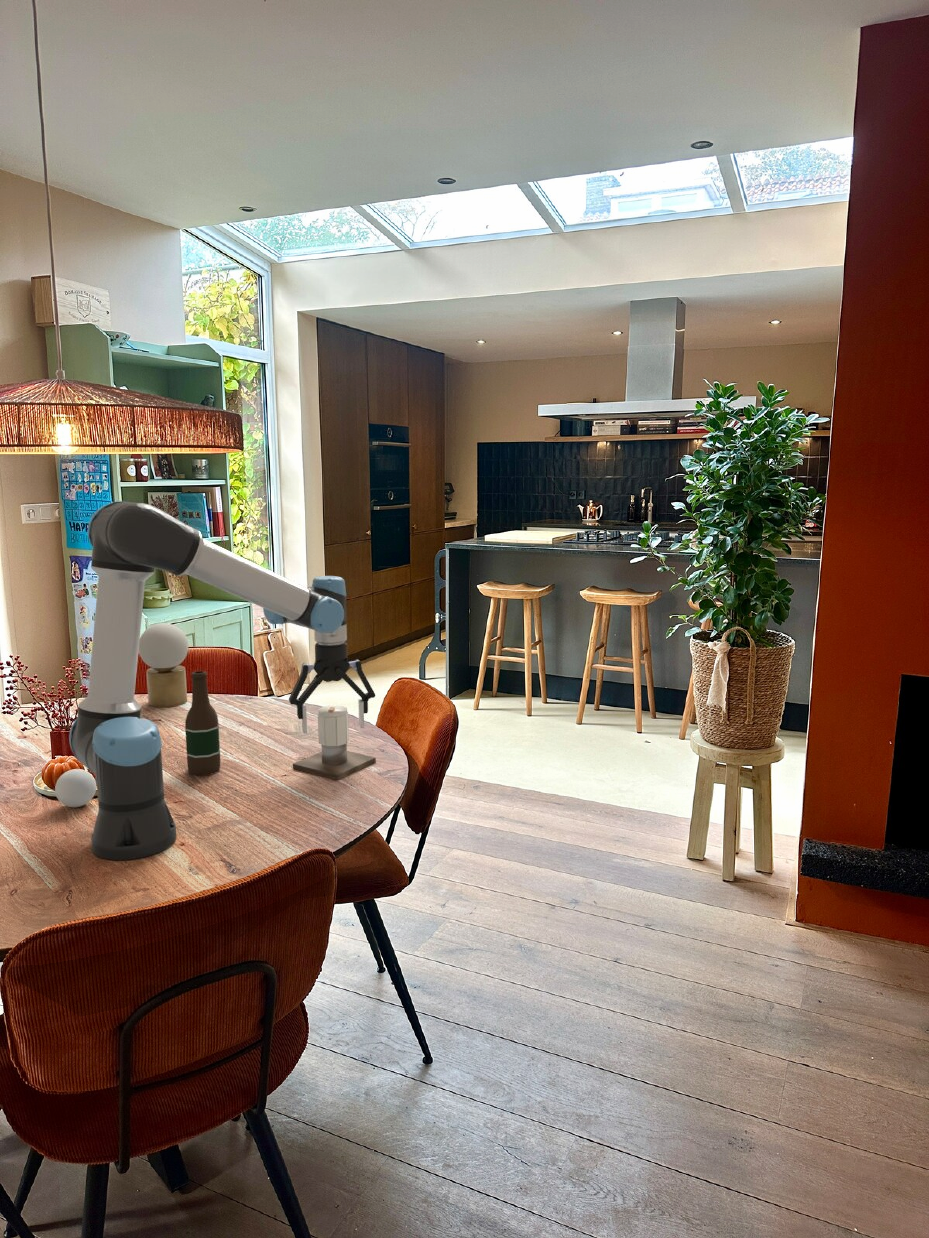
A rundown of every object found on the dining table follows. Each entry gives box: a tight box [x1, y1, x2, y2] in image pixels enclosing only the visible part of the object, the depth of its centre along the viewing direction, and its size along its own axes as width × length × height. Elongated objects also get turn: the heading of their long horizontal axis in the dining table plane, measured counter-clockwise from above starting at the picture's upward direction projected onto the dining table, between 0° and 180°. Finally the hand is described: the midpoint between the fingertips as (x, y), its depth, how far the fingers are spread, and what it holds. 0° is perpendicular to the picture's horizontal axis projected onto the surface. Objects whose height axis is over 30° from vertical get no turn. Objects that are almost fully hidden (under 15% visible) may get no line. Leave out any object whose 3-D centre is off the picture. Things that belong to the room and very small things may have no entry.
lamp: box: [138, 622, 189, 708], centre depth 254 cm, size 15×14×25 cm
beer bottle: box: [184, 670, 221, 776], centre depth 198 cm, size 8×8×24 cm
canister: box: [317, 704, 350, 746], centre depth 201 cm, size 7×7×9 cm
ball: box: [54, 768, 97, 808], centre depth 178 cm, size 8×8×8 cm
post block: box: [292, 742, 377, 781], centre depth 202 cm, size 14×14×11 cm
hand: (333, 729), depth 201 cm, fingers open, 13 cm apart
